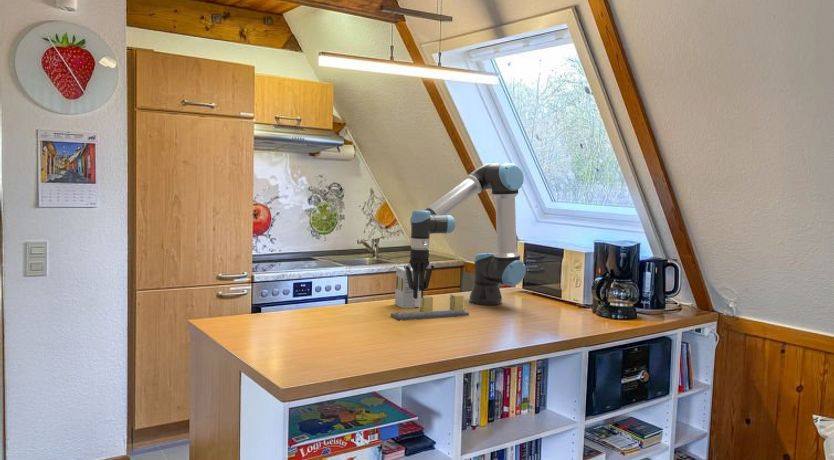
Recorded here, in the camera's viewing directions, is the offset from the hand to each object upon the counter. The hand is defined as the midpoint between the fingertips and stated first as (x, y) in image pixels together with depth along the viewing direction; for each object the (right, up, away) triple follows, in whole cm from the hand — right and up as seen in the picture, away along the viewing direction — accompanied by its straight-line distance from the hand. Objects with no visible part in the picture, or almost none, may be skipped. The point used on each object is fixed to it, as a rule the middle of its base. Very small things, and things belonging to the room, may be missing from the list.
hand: (417, 306), depth 257 cm
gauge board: (+5, -5, +5) cm, 8 cm away
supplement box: (-4, -3, +23) cm, 23 cm away
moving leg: (+3, -3, +3) cm, 5 cm away
